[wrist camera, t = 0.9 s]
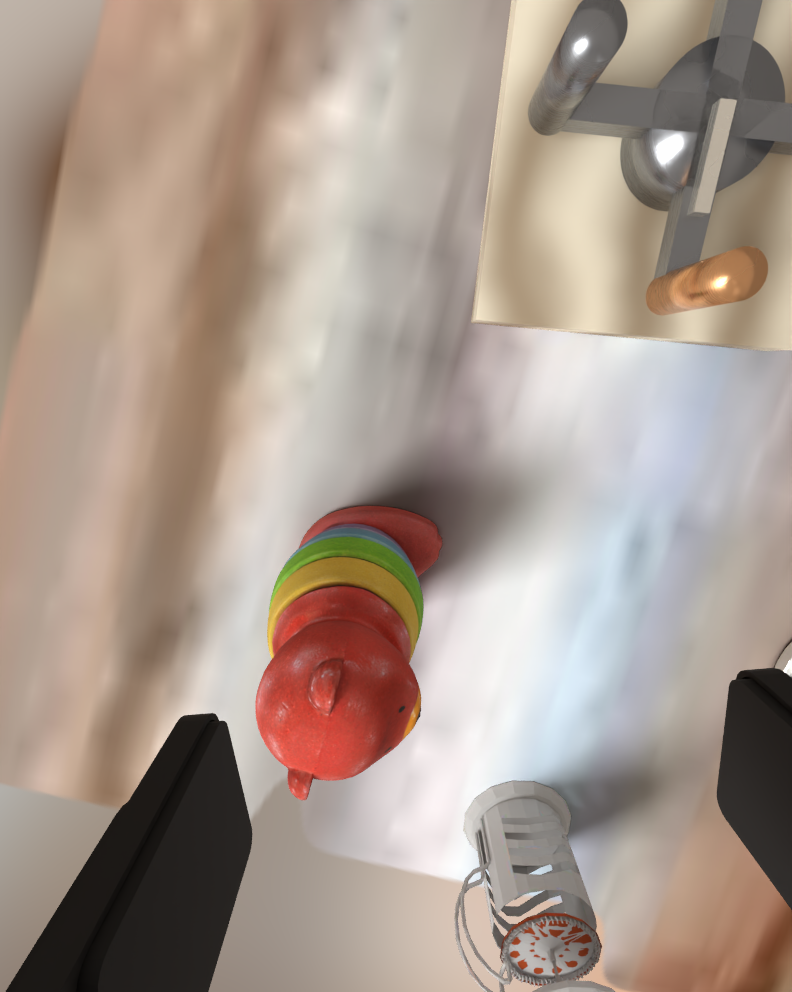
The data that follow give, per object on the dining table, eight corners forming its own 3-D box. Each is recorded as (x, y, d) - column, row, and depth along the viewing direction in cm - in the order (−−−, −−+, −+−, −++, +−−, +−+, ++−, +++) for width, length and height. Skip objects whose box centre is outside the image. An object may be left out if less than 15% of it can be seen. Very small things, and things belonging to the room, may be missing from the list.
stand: (888, -45, 25) (970, -114, 22) (771, 351, 31) (821, 349, 27) (522, -87, 25) (543, -164, 21) (471, 322, 31) (480, 316, 27)
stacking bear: (397, 644, 37) (397, 882, 20) (276, 602, 36) (168, 815, 19) (450, 525, 34) (502, 683, 17) (321, 477, 34) (242, 593, 16)
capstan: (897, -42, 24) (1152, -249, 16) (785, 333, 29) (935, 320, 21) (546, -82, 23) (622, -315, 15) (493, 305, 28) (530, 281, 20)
